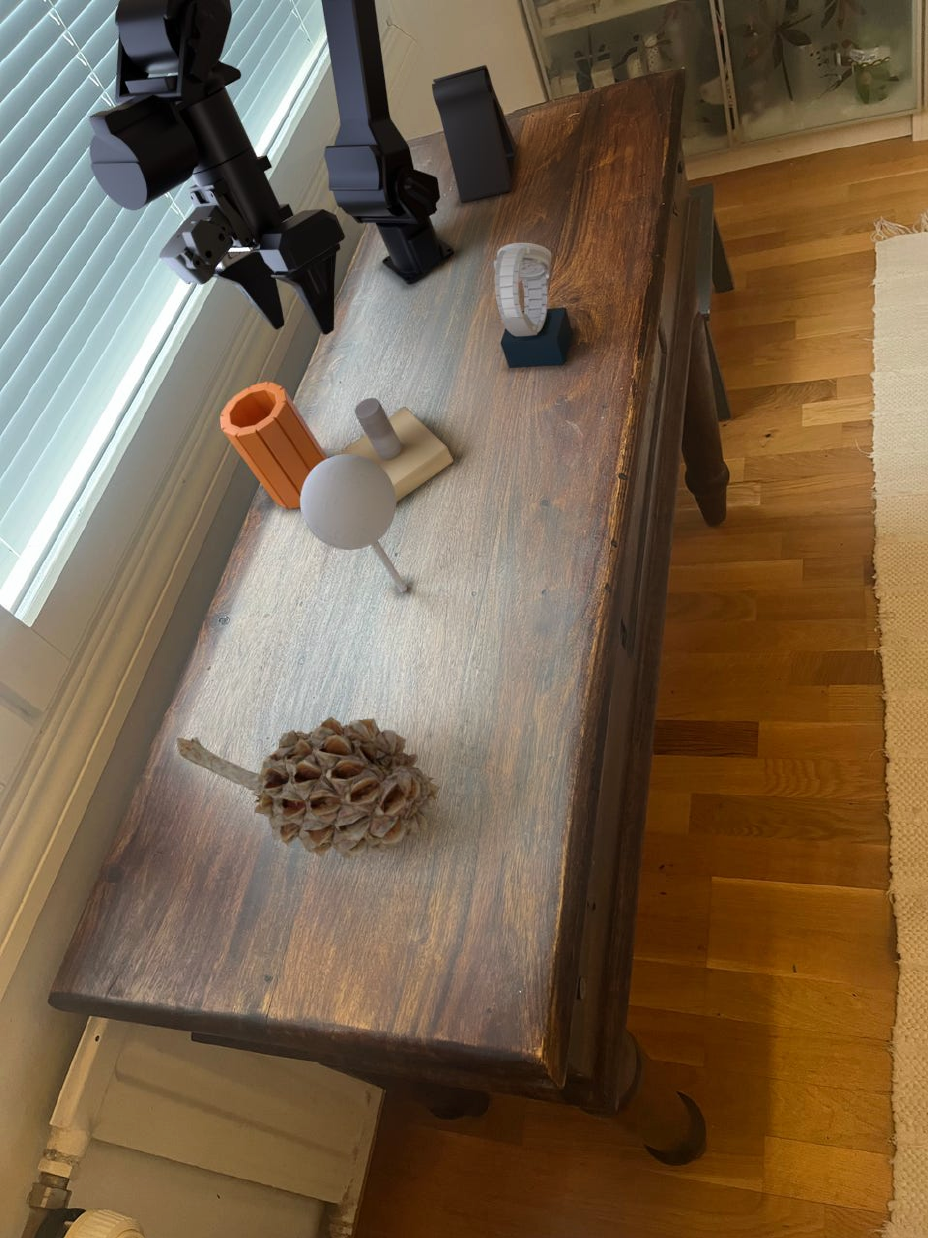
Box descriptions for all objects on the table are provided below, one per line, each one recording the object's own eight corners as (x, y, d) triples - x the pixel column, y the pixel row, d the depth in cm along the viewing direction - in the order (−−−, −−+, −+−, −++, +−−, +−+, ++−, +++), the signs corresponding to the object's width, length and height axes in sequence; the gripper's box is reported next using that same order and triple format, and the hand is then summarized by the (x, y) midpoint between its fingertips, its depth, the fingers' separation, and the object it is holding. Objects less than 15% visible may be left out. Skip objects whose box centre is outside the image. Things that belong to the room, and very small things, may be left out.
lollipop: (454, 557, 78) (388, 434, 67) (427, 628, 75) (352, 512, 63) (381, 552, 81) (306, 433, 70) (352, 619, 78) (268, 506, 66)
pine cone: (475, 764, 67) (429, 698, 59) (439, 895, 62) (383, 842, 55) (227, 732, 76) (158, 672, 68) (179, 845, 71) (99, 794, 63)
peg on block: (345, 468, 89) (310, 412, 83) (412, 421, 90) (383, 362, 84) (383, 512, 84) (349, 456, 78) (454, 461, 85) (426, 402, 79)
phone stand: (510, 192, 106) (480, 89, 97) (461, 204, 108) (426, 103, 99) (517, 148, 111) (488, 45, 102) (470, 160, 113) (437, 60, 104)
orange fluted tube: (262, 485, 92) (209, 412, 84) (317, 447, 92) (269, 371, 84) (288, 519, 88) (235, 447, 80) (345, 479, 88) (297, 403, 80)
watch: (577, 319, 91) (550, 220, 82) (560, 377, 87) (530, 280, 78) (522, 323, 93) (491, 227, 84) (504, 381, 89) (469, 286, 80)
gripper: (103, 207, 82) (193, 365, 91) (189, 196, 68) (285, 383, 77) (204, 153, 86) (281, 310, 95) (305, 132, 73) (383, 318, 82)
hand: (303, 329), depth 87 cm, fingers open, 9 cm apart
